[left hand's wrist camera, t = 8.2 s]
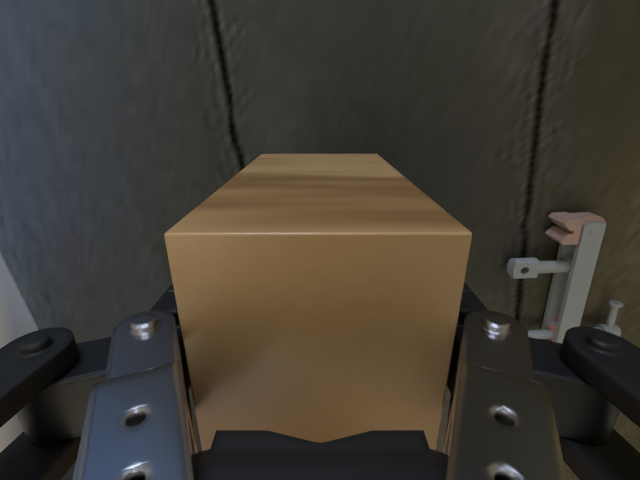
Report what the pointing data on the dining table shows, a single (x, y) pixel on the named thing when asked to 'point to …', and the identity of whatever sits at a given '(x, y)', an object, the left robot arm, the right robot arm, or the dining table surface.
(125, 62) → the dining table surface
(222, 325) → the box
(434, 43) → the dining table surface
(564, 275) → the clamp
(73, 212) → the dining table surface
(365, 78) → the dining table surface
